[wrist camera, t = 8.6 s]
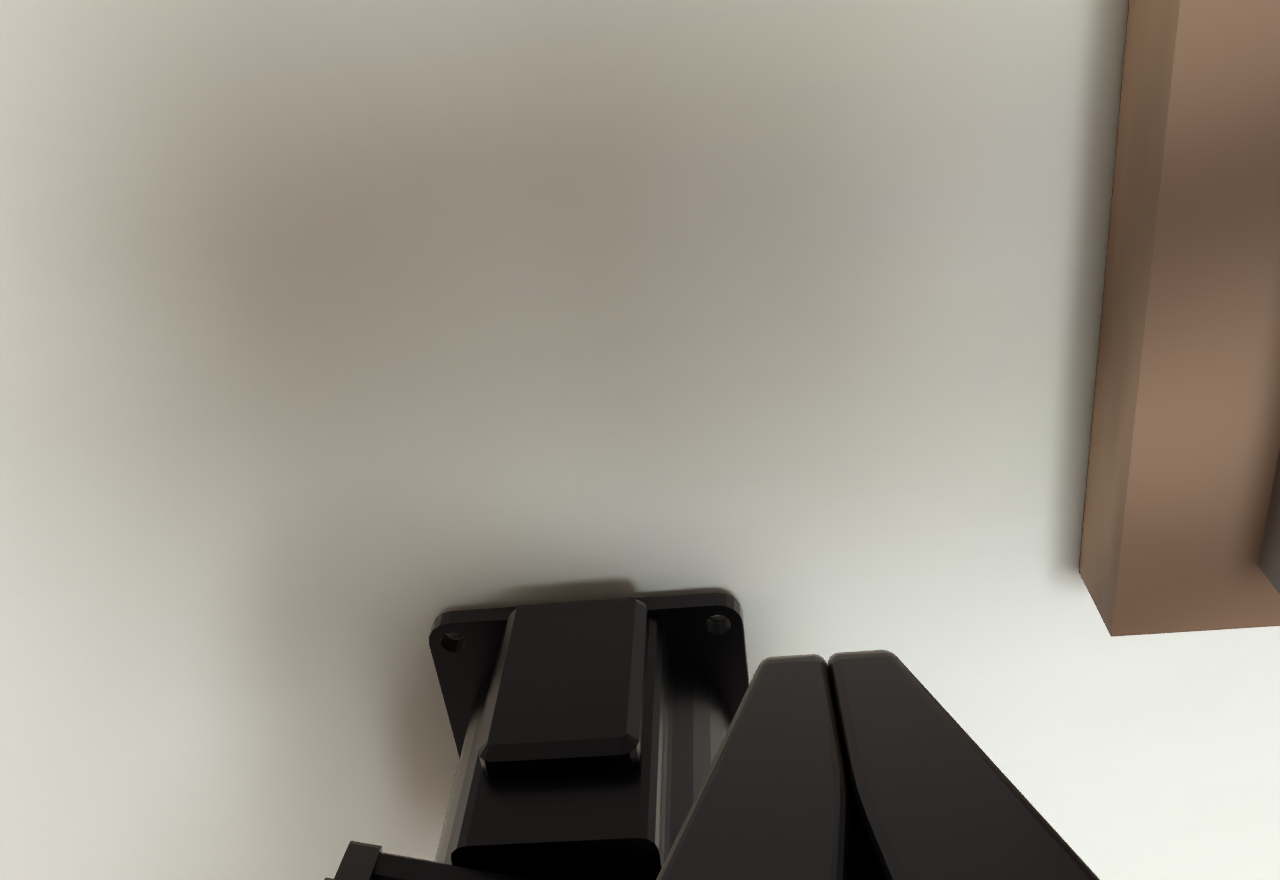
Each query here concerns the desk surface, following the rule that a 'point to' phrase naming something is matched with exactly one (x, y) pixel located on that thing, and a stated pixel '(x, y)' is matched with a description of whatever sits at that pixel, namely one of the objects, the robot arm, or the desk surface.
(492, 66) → the desk surface
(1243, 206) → the button panel
